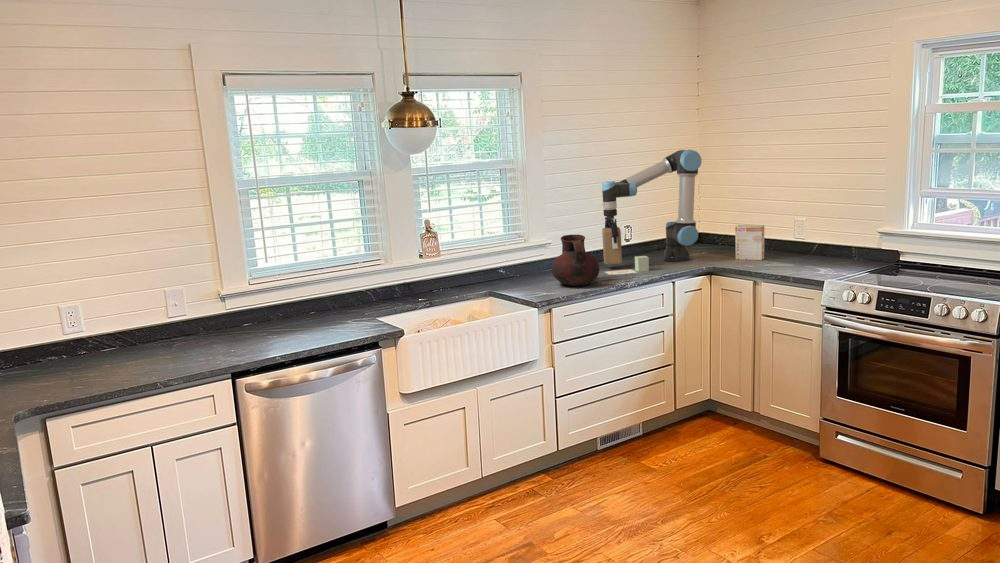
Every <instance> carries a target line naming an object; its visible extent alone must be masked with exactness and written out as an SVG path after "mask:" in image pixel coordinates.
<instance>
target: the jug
mask: <svg viewBox="0 0 1000 563" xmlns="http://www.w3.org/2000/svg"><path fill="white" fill-rule="evenodd" d="M585 239H586V237H585V236H584V235H582V234H564V235H563V236H561V237H560V241H561V245H562V248H561V249H562V250H561V254H560V255H558V256H557V257H555V258H554V260H553V261H552V264H551V274H552V276H553V277H554V278H555V279H556V280H557V281H558V282H559V283H561V284H563V285H566V286H569V287H571V286H572V287H582V286H584V285H588V284H591V283H592V282H593V281H595V280H596V279H597V278H598V276H599V273H600V264H599V261H598V260H597V259H596V258H595V257H594V256H593V255H592V254H590V253H588V252H586V249H585V248H586V247H585Z"/></svg>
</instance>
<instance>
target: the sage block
mask: <svg viewBox="0 0 1000 563" xmlns="http://www.w3.org/2000/svg"><path fill="white" fill-rule="evenodd" d="M649 262H650V258H649V256H647V255H639V256H636V255H635V256H634V271H636V272H638V273H640V272H649V271H650V263H649Z"/></svg>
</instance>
